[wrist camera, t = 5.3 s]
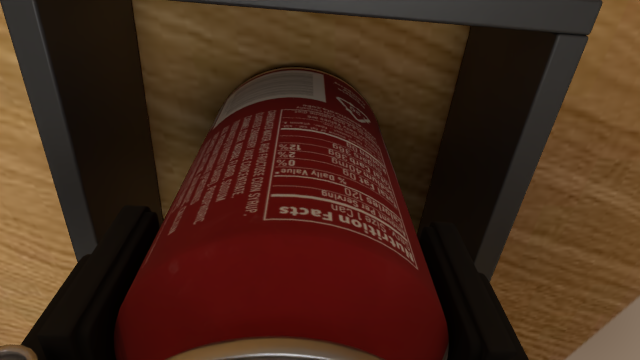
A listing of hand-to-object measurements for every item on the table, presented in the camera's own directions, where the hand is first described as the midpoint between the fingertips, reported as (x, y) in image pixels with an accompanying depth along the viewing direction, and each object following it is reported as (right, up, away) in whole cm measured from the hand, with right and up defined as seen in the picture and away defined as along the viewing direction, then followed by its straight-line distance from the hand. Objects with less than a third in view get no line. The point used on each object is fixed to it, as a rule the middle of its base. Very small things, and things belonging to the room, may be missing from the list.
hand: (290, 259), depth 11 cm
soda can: (0, +4, +6) cm, 7 cm away
